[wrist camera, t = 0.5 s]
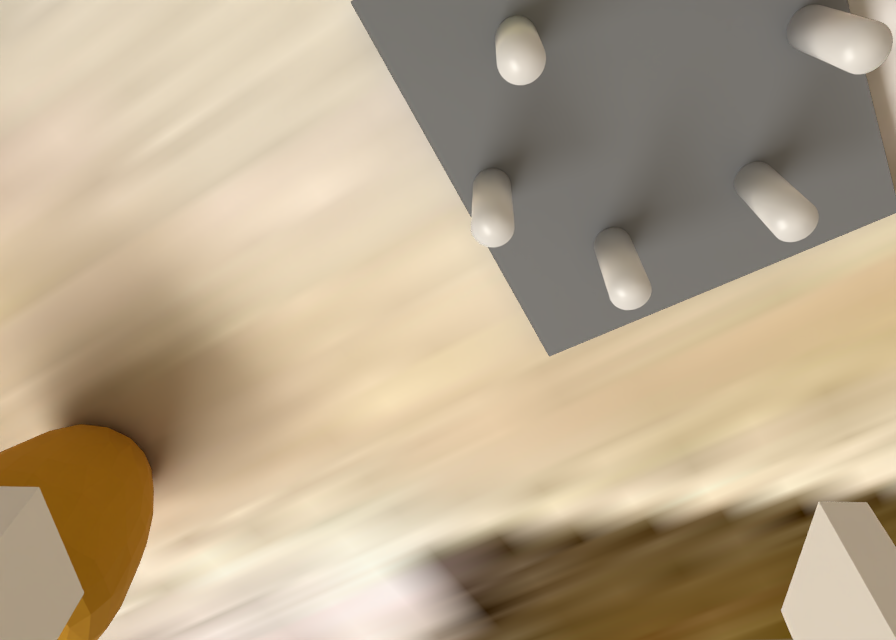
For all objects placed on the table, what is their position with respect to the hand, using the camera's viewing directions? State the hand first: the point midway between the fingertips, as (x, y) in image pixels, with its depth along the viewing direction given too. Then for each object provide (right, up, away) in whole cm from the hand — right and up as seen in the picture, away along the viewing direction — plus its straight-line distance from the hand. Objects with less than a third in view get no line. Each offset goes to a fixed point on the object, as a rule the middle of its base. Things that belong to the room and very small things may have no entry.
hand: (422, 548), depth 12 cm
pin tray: (+9, +14, +20) cm, 26 cm away
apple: (-22, -5, +33) cm, 40 cm away
